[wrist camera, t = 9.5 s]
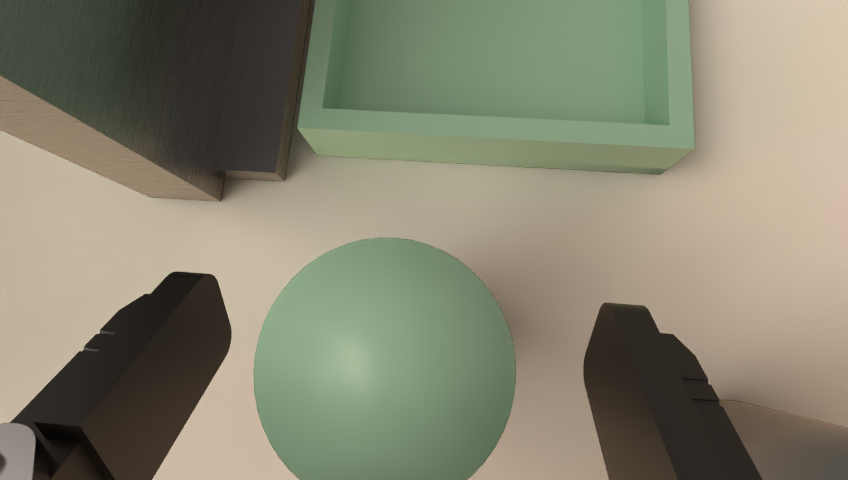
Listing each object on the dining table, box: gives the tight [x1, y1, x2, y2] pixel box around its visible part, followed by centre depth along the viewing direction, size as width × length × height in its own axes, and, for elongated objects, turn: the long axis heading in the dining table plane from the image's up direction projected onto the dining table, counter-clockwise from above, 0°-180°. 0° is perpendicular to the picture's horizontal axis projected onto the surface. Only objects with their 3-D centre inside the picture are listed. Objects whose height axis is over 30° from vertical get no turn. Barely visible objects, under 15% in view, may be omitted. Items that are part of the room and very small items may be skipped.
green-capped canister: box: [254, 238, 516, 480], centre depth 12 cm, size 4×4×10 cm
